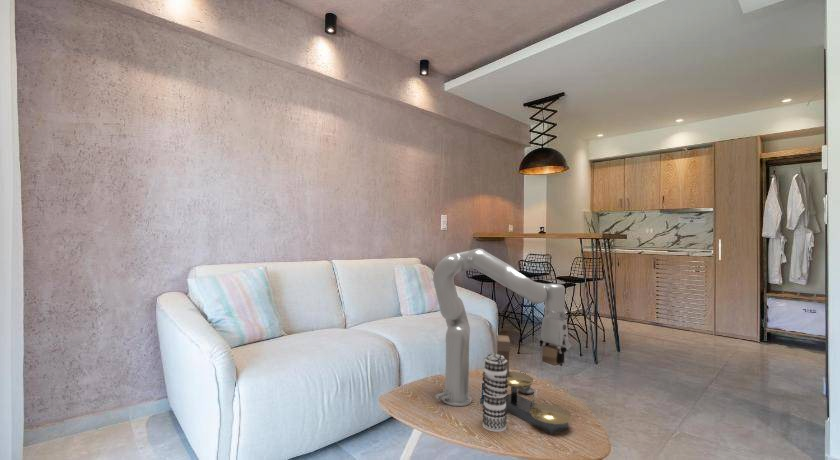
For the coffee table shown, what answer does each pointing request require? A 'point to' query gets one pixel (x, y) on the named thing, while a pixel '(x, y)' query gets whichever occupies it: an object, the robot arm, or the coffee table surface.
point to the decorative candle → (495, 393)
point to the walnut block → (550, 354)
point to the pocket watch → (525, 388)
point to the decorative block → (504, 348)
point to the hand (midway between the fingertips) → (553, 360)
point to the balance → (534, 407)
